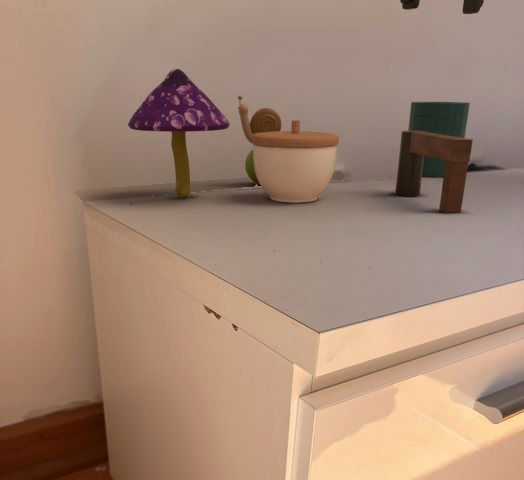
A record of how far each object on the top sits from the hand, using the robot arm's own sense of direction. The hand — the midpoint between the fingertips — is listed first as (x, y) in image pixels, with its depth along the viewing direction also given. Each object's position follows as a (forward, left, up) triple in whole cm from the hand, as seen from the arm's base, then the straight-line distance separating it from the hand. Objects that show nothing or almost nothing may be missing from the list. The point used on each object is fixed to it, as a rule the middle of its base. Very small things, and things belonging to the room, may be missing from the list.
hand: (441, 11), depth 65 cm
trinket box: (+16, -3, -21) cm, 27 cm away
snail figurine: (+18, -15, -21) cm, 32 cm away
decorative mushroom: (+30, -6, -21) cm, 37 cm away
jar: (-13, -23, -21) cm, 34 cm away
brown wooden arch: (0, +2, -21) cm, 21 cm away
